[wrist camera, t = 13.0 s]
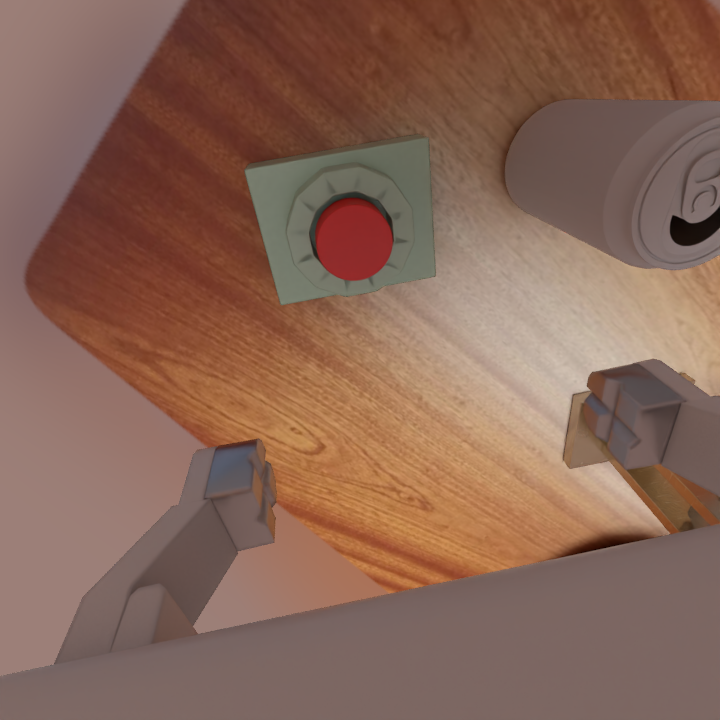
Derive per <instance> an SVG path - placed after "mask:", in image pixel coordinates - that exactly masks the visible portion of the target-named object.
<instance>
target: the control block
mask: <svg viewBox="0 0 720 720" xmlns="http://www.w3.org/2000/svg"><path fill="white" fill-rule="evenodd" d="M244 172H245V175H246V179H247V183H248V187H249V190H250V194H251V198H252V201H253V205H254V209H255V212H256V216H257V220H258V224H259V227H260V231H261V235H262V238H263V242H264V246H265V249H266V253H267V257H268V260H269V264H270V268H271V272H272V275H273V279H274V283H275V286H276V290H277V294H278V297H279V301H280V304H281V305H285V304H290V303H296V302H301V301H307V300H312V299H317V298H323V297H328V296H333V295H341V296H344V297H345V296H346V297H348V296H354V295H359V294H365V293H370V292H375V291H378V290H379V289H380V288H382V287H383V286H387V285H393V284H398V283H404V282H409V281H414V280H420V279H425V278H431V277H435V276H436V269H435V250H434V230H433V211H432V191H431V171H430V152H429V138H428V137H426V136H423V135H420V134H415V135H409V136H404V137H398V138H392V139H387V140H381V141H375V142H370V143H364V144H358V145H352V146H347V147H341V148H335V149H330V150H324V151H318V152H313V153H307V154H301V155H296V156H290V157H284V158H279V159H273V160H267V161H262V162H256V163H250V164H248V166H247V167H246V168H245V170H244ZM344 198H360V199H364V200H366V201H368V202H370V203H372V204H373V205H374V206H376V207H377V208H378V209H379V211H380V212H381V213H382V215H383V216H384V218H385V219H386V221H387V222H388V224H389V226H390V228H391V232H392V237H393V246H392V251H391V254H390V257H389V259H388V261H387V263H386V264H385V265H384V267H383V268H382V269H381V270H380V271H379V272H377V273H376V274H375V275H373V276H371V277H369V278H366V279H363V280H358V281H349V280H344V279H340V278H338V277H336V276H334V275H333V274H331V273H330V272H329V271H328V270H327V269H326V268H325V267H324V266H323V265H322V263H321V261H320V259H319V257H318V253H317V248H316V240H315V230H316V225H317V222H318V220H319V218H320V216H321V214H322V213H323V211H324V210H325V209H326V208H327V207H328V206H330V205H331V204H332V203H334V202H336V201H338V200H341V199H344Z"/></svg>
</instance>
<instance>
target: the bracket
mask: <svg viewBox="0 0 720 720" xmlns="http://www.w3.org/2000/svg"><path fill="white" fill-rule="evenodd" d="M680 375H681V376H683V377H684V378H685V379H687V380H688V381H689V382H691V383H692V384H694V383H695V380H694V379H692V378H691V377H690V376H688V375H687V374H685V373H683V374H680ZM590 393H591V391H590V392H585V393H580V394H575V395H573V401H572V408H571V414H570V420H569V426H568V433H567V439H566V445H565V451H564V458H563V460H564V462H565V463H566V465H567V466H568V467H569V469H572V468H577V467H582V466H587V465H592V464H597V463H602V462H607V461H609V462H610V463H611V464H612V465H613V466H614V467H615V469H616V470H617V471H618V472H619V473H620V475H621V476H622V477H623V478H624V479H625V480H626V482H627V483H628V484H629V485H630V486H631V488H632V489H633V490H634V491H635V492H636V493H637V495H638V496H639V497H640V498H641V499H642V501H643V502H644V503H645V504H646V505H647V506H648V508H649V509H650V510H651V511H652V512H653V514H654V515H655V516H656V517H657V518H658V520H659V521H660V522H661V523H662V524H663V525H664V527H665V528H666V529H667V530H668V531H669V533H670V534H674V533H679V532H684V531H688V530H693V529H694V527H693V525H692V523H691V520H690V518H689V516H688V514H687V513H688V510H689V508H690V506H692V507H693V508H694V509H695V510H696V511H697V512H698V513H699V514H700V515H701V516H702V517H703V518H704V520H705V521H706V522H707V523H708V524H709V525H710V526H712V525H717V524H720V497H719V496H717V495H715V494H713V493H711V492H710V491H708V490H706V489H704V488H702V487H700V486H698V485H696V484H695V483H693V482H691V481H689V480H687V479H685V478H683V477H681V476H680V475H678V474H676V473H674V472H672V471H670V470H668V469H667V468H665V467H663V466H661V464H657V465H652V466H646V467H641V468H635V469H629V470H625V469H624V468H623V467H622V466H621V465H620V464H619V463H618V462H617V460H616V459H615V458H614V457H613V456H612V455H611V454H610V453H609V451H608V450H607V446H608V442H606V441H604V440H601V439H599V438H597V437H595V435H594V434H593V433H592V432H591V431H590V429H589V428H588V426H587V424H586V422H585V418H584V413H583V408H584V400H585V399H586V398H587V397H588V396H589V395H590Z"/></svg>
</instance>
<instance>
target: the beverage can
mask: <svg viewBox="0 0 720 720" xmlns="http://www.w3.org/2000/svg"><path fill="white" fill-rule="evenodd" d="M505 181H506V186H507V190H508V192H509V195H510V197H511V198H512V200H513V201H514V203H515V204H516V205H517V206H518V207H519V208H520V209H522V210H523V211H525V212H527V213H529V214H531V215H532V216H534V217H536V218H538V219H540V220H542V221H544V222H546V223H548V224H550V225H552V226H554V227H556V228H558V229H560V230H562V231H564V232H566V233H568V234H569V235H571V236H573V237H575V238H577V239H579V240H581V241H583V242H585V243H587V244H589V245H591V246H593V247H595V248H597V249H599V250H601V251H603V252H605V253H606V254H608V255H610V256H612V257H614V258H616V259H618V260H620V261H622V262H624V263H626V264H628V265H631V266H635V267H640V268H646V269H651V268H662V269H667V270H681V269H687V268H691V267H695V266H698V265H700V264H703V263H705V262H707V261H709V260H711V259H713V258H715V257H716V256H718V255H720V101H687V100H605V99H565V100H560V101H556V102H553V103H551V104H549V105H546V106H544V107H543V108H541V109H540V110H538V111H537V112H536V113H534V114H533V115H532V116H531V117H530V118H529V119H528V120H527V121H526V122H525V123H524V124H523V125H522V127H521V128H520V129H519V131H518V132H517V134H516V136H515V137H514V139H513V141H512V143H511V146H510V148H509V151H508V154H507V158H506V164H505Z"/></svg>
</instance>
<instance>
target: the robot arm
mask: <svg viewBox="0 0 720 720" xmlns="http://www.w3.org/2000/svg"><path fill="white" fill-rule="evenodd" d="M587 387H588V388H589V389H590V391H591V393H590V395H589V396H588V397H587V398H586V399H585V400H584V408H583V413H584V418H585V422H586V424H587V426H588V428H589V429H590V431H591V432H592V433H593V434H594V435H595V437H597V438H599V439H601V440H604V441H606V442H608V446H607V450H608V451H609V453H610V454H611V455H612V456H613V457H614V458H615V459H616V460H617V462H618V463H619V464H620V465H621V466H622V467H623V468H624V469H625V470H629V469H635V468H641V467H646V466H652V465H657V464H661V466H663V467H665V468H667V469H668V470H670V471H672V472H674V473H676V474H678V475H680V476H681V477H683V478H685V479H687V480H689V481H691V482H693V483H695V484H696V485H698V486H700V487H702V488H704V489H706V490H708V491H710V492H711V493H713V494H715V495H717V496H719V497H720V396H713V397H710V396H709V395H708V394H706V393H705V392H703V391H702V390H701V389H699V388H698V387H696V386H695V385H694V384H692V383H691V382H689V381H688V380H687V379H685V378H684V377H683V376H681V375H680V374H678V373H677V372H676V371H674V370H673V369H671V368H670V367H669V366H667V365H666V364H665V363H663V362H662V361H660V360H656V359H650V360H645V361H641V362H636V363H633V364H629V365H624V366H619V367H615V368H610V369H605V370H600V371H595V372H592V373H591V374H590V376H589V377H588V383H587ZM265 455H266V450H265V447H264V445H263V442H262V440H260V439H254V440H248V441H243V442H237V443H231V444H226V445H220V446H218V447H211V448H205V449H200V450H197V451H196V452H195V453H194V454H193V457H192V460H191V464H190V467H189V471H188V474H187V477H186V481H185V485H184V488H183V491H182V495H181V498H180V501H179V505H176V506H172V507H171V508H170V509H169V510H168V511H167V512H166V513H165V514H164V515H163V516H162V517H161V518H160V519H159V520H158V521H157V522H156V523H155V524H154V525H153V526H152V527H151V528H150V530H148V531H147V532H146V533H145V534H144V535H143V536H142V537H141V538H140V539H139V541H137V542H136V543H135V545H134V546H133V547H132V548H131V549H130V550H129V551H128V552H127V553H126V554H125V555H124V556H123V557H122V558H121V559H120V560H119V561H118V562H117V563H116V564H115V565H114V566H113V567H112V568H111V569H110V570H109V571H108V572H107V573H106V574H105V575H104V576H103V577H102V578H101V579H100V580H99V581H98V582H97V583H96V584H95V585H94V586H93V587H92V588H91V589H90V590H89V591H88V592H87V593H86V594H85V595H84V597H83V598H82V600H81V602H80V605H79V607H78V609H77V612H76V614H75V616H74V619H73V621H72V623H71V626H70V628H69V630H68V633H67V635H66V637H65V640H64V642H63V644H62V647H61V649H60V651H59V654H58V656H57V658H56V661H55V663H54V665H50V666H45V667H40V668H36V669H31V670H26V671H21V672H17V673H12V674H7V675H3V676H0V720H720V524H717V525H712V526H707V527H702V528H698V529H693V530H688V531H684V532H679V533H674V534H669V535H665V536H660V537H655V538H651V539H646V540H641V541H637V542H632V543H627V544H623V545H618V546H613V547H608V548H604V549H599V550H594V551H590V552H585V553H580V554H576V555H571V556H566V557H561V558H557V559H552V560H547V561H542V562H538V563H533V564H528V565H523V566H519V567H514V568H509V569H504V570H500V571H495V572H490V573H485V574H481V575H476V576H471V577H466V578H462V579H457V580H452V581H447V582H443V583H438V584H433V585H428V586H424V587H419V588H414V589H409V590H405V591H400V592H395V593H390V594H386V595H381V596H377V597H372V598H367V599H362V600H357V601H353V602H348V603H343V604H339V605H334V606H329V607H324V608H320V609H315V610H310V611H305V612H301V613H296V614H291V615H286V616H282V617H277V618H272V619H267V620H263V621H258V622H253V623H248V624H244V625H240V626H235V627H230V628H225V629H220V630H215V631H211V632H206V633H201V634H198V633H197V632H196V630H195V629H194V628H193V625H194V623H195V622H196V620H197V619H198V617H199V616H200V614H201V612H202V611H203V609H204V608H205V606H206V604H207V603H208V601H209V599H210V597H211V596H212V595H213V593H214V591H215V590H216V588H217V587H218V585H219V583H220V582H221V580H222V578H223V577H224V575H225V574H226V572H227V570H228V569H229V567H230V565H231V564H232V562H233V561H234V559H235V557H236V556H237V554H238V552H237V551H241V550H245V549H249V548H254V547H258V546H262V545H267V544H271V543H274V538H275V537H274V536H275V520H276V518H275V515H274V513H273V510H272V507H273V506H274V505H275V503H276V499H277V490H276V480H275V476H274V472H273V469H272V466H271V464H270V463H269V462H267V461H265Z"/></svg>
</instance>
